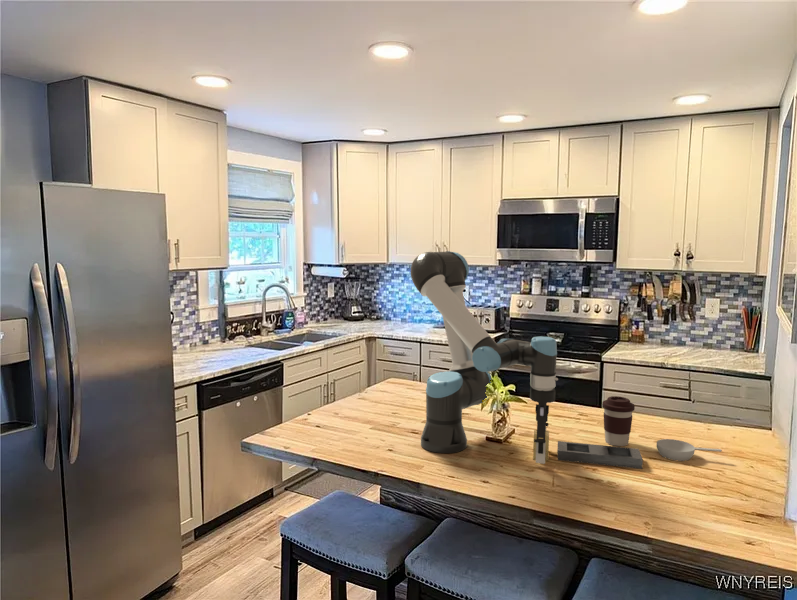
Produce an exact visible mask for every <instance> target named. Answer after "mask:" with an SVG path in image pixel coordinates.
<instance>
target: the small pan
mask: <svg viewBox="0 0 797 600" xmlns="http://www.w3.org/2000/svg"><path fill="white" fill-rule="evenodd" d="M656 450H657V451H658V453H659V455H660V456H661V455H662V456H661V457H662V458H665V457H666V458H665V459H667V458H668V459H667V460H671V459H672V460H671V461H676V460H678V461H679V462H685V460H686V461H690V460H691V459H692V457H693V456H694V455H695V451H706V452H707V451H708V452H719V453H721V452H722V449H720V448H709V447H708V448H707V447H695V446H694V444H691V443H689V442H686V441H683V440H678V439H675V438H674V439H671V438H662V439H659V440H657V441H656ZM678 461H677V462H678Z"/></svg>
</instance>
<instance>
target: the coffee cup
mask: <svg viewBox="0 0 797 600" xmlns="http://www.w3.org/2000/svg"><path fill="white" fill-rule="evenodd" d="M606 398H607V399H606V400H602V404H601V405H602V406H601V407H602V408H603V410H604V411H603V429H604V441H605V443H607V444H608V445H609V446H615V447H626V446H628V445H629V442H630V441H629V440H630V435H631V430H632V424H633V412H634V411H635V407H636V406H635V404H634V403H632V402H631V400H630V398H627V397H624V396H618V395H617V396H616V395H615V396H613V395H612V396H609V397H606Z"/></svg>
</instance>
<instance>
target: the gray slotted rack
mask: <svg viewBox="0 0 797 600" xmlns="http://www.w3.org/2000/svg"><path fill="white" fill-rule="evenodd" d="M556 455H557V461H562V462H573V463H579V464H581V463H583V464H591V465H601V466H602V465H603V466H610V467H611V466H612V467H620V468H629V469H637V470H643V462H644V461H643V460H644V459H643V457H642V454H641V451H640V449H639V448H636V447H635V448H634V447H626V446H614V445H602V444H595V443H593V444H592V443H583V442H582V443H581V442H569V441H562V440H561V441H560V440H557V454H556Z"/></svg>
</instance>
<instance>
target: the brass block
mask: <svg viewBox="0 0 797 600" xmlns="http://www.w3.org/2000/svg"><path fill="white" fill-rule="evenodd" d="M534 439H537V429H533V440H534ZM540 439H543V438H540ZM545 440H546V446H545V462H549V449H550V445H549V443H550V431H549V430H546V431H545ZM532 450H533V451H532V460H533V461H536V442H534V441H533V448H532Z"/></svg>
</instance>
